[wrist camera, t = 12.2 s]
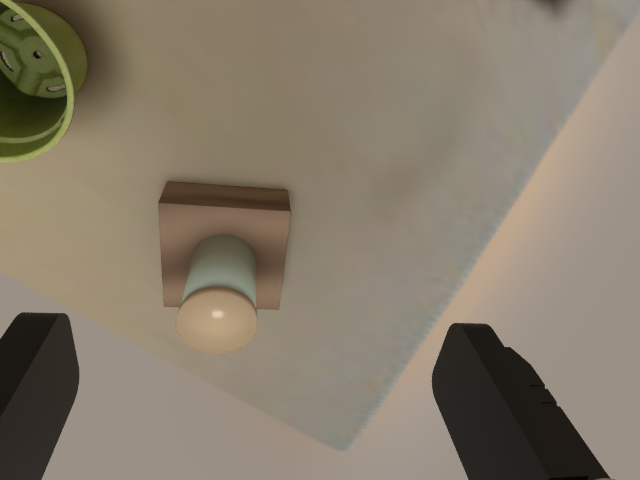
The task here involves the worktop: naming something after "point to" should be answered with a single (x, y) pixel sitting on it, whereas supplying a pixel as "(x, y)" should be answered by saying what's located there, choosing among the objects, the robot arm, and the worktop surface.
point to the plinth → (223, 218)
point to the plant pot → (36, 80)
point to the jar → (219, 296)
